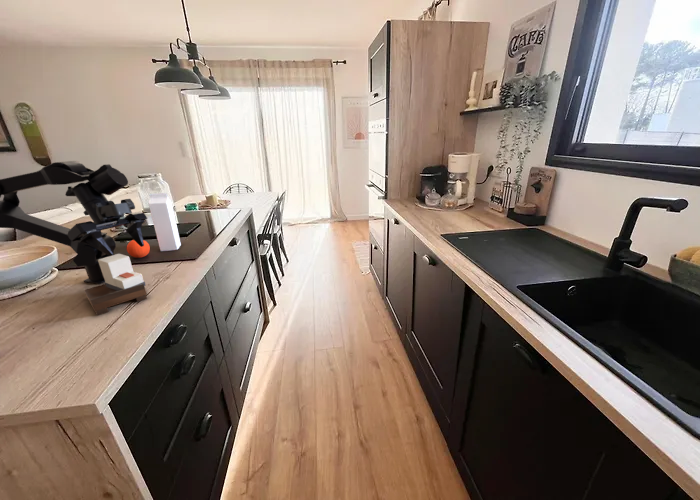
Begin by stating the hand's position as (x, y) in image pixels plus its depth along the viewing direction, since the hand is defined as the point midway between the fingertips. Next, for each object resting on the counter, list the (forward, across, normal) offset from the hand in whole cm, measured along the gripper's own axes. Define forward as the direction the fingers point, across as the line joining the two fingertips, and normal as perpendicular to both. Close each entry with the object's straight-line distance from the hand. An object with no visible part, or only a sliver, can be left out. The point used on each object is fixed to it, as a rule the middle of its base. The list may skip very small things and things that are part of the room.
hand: (128, 250), depth 84 cm
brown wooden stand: (+11, -9, +2) cm, 14 cm away
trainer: (+9, -7, -1) cm, 11 cm away
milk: (+1, +28, +18) cm, 33 cm away
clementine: (-1, +17, +21) cm, 27 cm away
